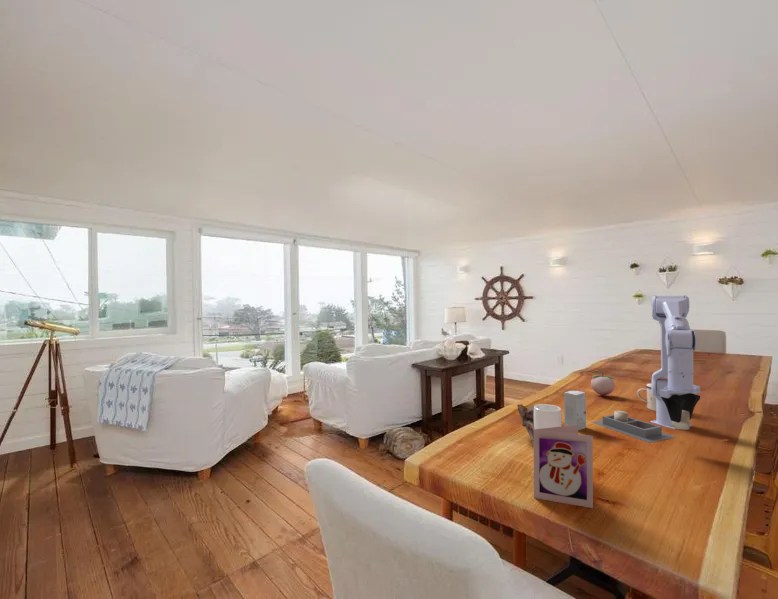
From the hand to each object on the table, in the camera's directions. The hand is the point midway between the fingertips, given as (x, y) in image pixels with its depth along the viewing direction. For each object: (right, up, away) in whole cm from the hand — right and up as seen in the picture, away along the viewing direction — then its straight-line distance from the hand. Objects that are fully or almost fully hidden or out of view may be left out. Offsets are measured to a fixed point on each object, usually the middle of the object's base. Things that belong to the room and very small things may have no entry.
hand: (680, 420), depth 106 cm
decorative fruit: (+12, -9, +59) cm, 61 cm away
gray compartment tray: (-3, -9, +16) cm, 19 cm away
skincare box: (-21, -9, +19) cm, 29 cm away
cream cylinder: (0, -2, 0) cm, 2 cm away
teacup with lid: (+22, -9, +40) cm, 46 cm away
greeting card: (-44, -9, -23) cm, 51 cm away
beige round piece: (-5, -8, +20) cm, 22 cm away
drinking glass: (-41, -9, -8) cm, 43 cm away
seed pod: (-36, -9, +7) cm, 38 cm away
